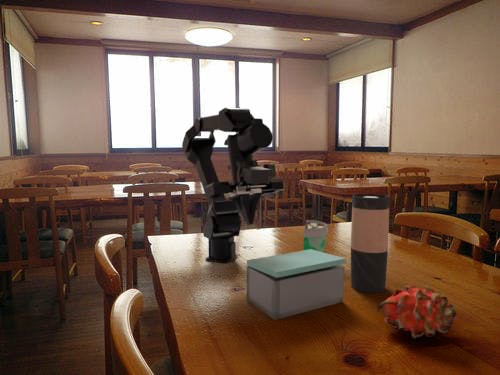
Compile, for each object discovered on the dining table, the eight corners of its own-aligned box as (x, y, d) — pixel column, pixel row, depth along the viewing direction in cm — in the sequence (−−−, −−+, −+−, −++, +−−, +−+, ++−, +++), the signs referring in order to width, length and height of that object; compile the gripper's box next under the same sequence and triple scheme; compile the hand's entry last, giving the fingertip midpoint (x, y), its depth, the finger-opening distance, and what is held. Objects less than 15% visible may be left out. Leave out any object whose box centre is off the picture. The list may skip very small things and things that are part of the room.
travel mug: (367, 296, 79) (370, 199, 77) (342, 284, 86) (344, 194, 83) (394, 289, 82) (398, 196, 80) (368, 278, 89) (370, 192, 87)
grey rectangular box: (246, 300, 77) (246, 266, 76) (310, 285, 85) (311, 254, 84) (275, 320, 68) (275, 281, 67) (342, 301, 76) (343, 267, 75)
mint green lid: (246, 265, 76) (246, 260, 76) (311, 253, 84) (310, 249, 84) (276, 277, 67) (276, 272, 67) (345, 263, 75) (345, 258, 75)
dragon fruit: (462, 351, 61) (381, 348, 65) (452, 303, 67) (379, 303, 71) (462, 323, 56) (375, 321, 60) (452, 274, 62) (373, 276, 66)
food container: (327, 270, 95) (328, 230, 94) (302, 268, 97) (303, 229, 95) (328, 256, 107) (328, 220, 106) (305, 254, 109) (306, 219, 107)
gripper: (220, 151, 80) (229, 225, 78) (293, 150, 90) (303, 217, 88) (200, 163, 90) (208, 230, 88) (267, 161, 99) (276, 222, 97)
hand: (250, 224), depth 90 cm, fingers closed
